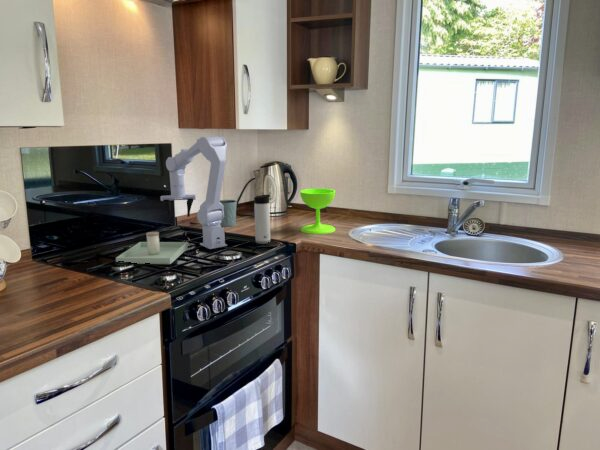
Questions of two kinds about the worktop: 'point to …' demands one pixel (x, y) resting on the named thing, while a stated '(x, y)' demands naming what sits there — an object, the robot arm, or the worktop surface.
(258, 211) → the travel mug
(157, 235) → the spice pot
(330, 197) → the wineglass
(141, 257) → the tray
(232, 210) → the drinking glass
